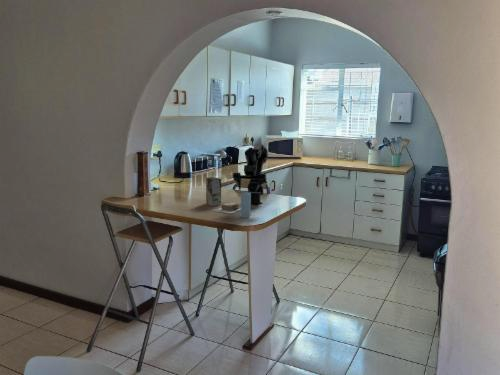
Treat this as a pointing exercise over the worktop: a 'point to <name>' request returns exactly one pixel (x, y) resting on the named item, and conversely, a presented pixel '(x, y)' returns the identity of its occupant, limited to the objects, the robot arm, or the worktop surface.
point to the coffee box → (213, 191)
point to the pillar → (245, 204)
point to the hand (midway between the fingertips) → (247, 190)
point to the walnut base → (229, 208)
